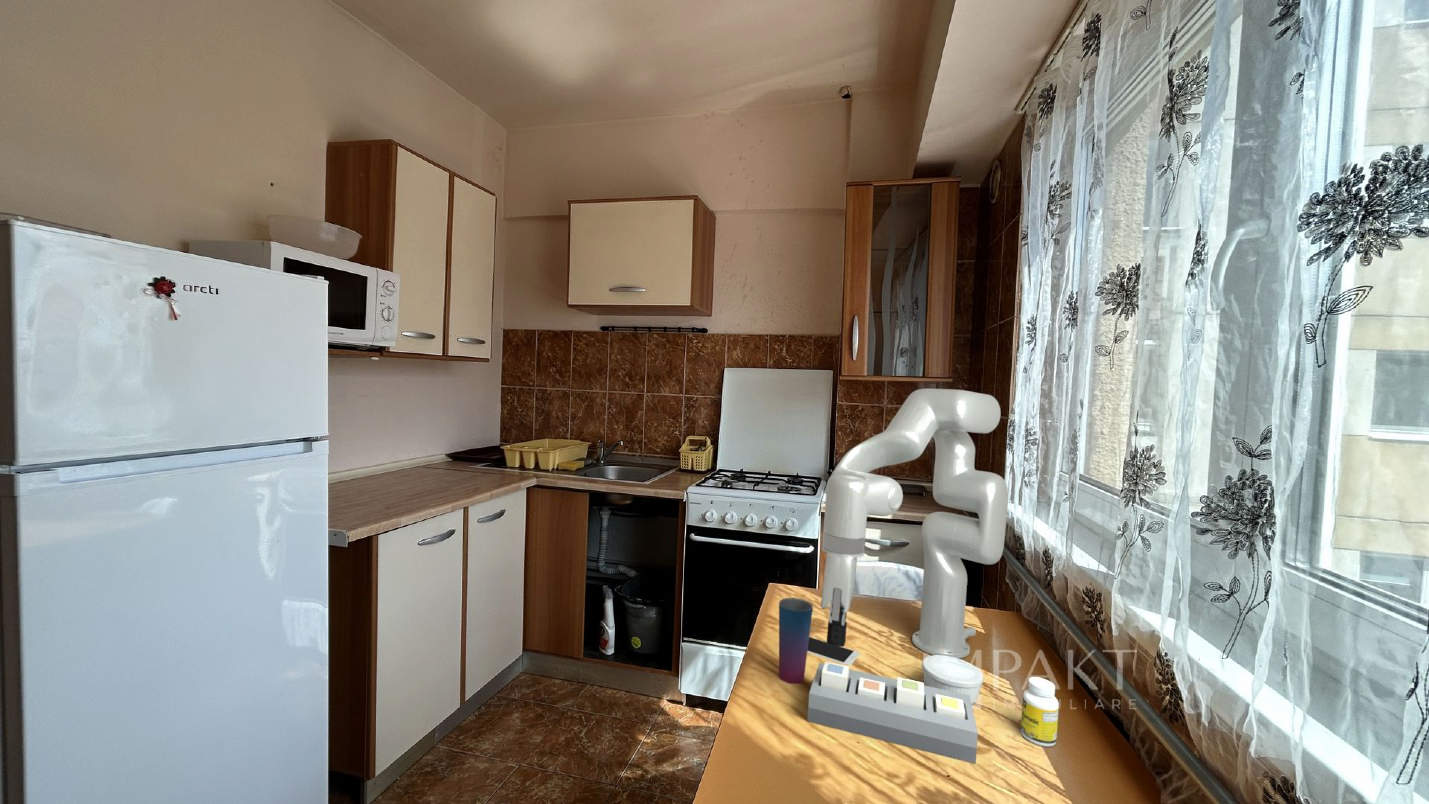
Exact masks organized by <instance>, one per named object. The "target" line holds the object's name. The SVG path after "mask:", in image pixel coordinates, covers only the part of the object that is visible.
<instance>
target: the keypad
mask: <svg viewBox="0 0 1429 804" xmlns="http://www.w3.org/2000/svg"><path fill="white" fill-rule="evenodd" d="M824 664H825V663H822V662H819V663H818V667H817V668H816V672H815V675H814V678H813V681H812V683H811V685H810V690H809V693H808V703H807V704H808V707H807V722H810V723H813V724H816V725H821V726H825V727H829V728H833V729H836V730H840V731H843V732H844V731H845V732H848V733H853V734H856V735H859V736H865V737H868V738H872V739H876V740H880V741H884V742H888V743H891V744H892V743H893V744H896V745H900V746H903V747H904V746H905V747H908V748H912V749H916V750H920V751H923V752H926V753H927V752H928V753H932V754H935V755H940V756H944V757H947V758H952V759H956V760H959V761H963V762H966V763H971V764H975V765H976V763H977V752H978V751H977V750H978V749H977V748H978V737H979V736H978V735H979V733H978V727H977V723H976V722H977V721H976V717H975V714H974V710H973V709H974V708H973V704H971V699H970V695H966V694H961V693H956V692H952V691H947V690H943V689H938V688H933V687H929V686H925V685H924V708H923V710H922V709H918V708H914V707H909V706H905V705H901V704H896V697H897V680H898V679H895V678H891V677H887V676H882V675H877V674H872V673H867V672H864V671H859V670H854V669H850V668H849V676H848V685H847V690H846V692H844V691H840V690H835V689H831V688H827V687H822V686H821V679H822V671H823V667H824ZM860 678H865V679H870V680H874V681H879V682H883V683H885V691H884V701H883V700H879V699H874V698H870V697H866V696H861V695H858V688H859V682H860ZM936 694H938V695H942V696H947V697H951V698H956V699H961V700H963V704H964V709H965V719H962V718H957V717H953V716H948V715H944V714H940V713H935V697H936Z"/></svg>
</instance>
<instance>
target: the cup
mask: <svg viewBox="0 0 1429 804" xmlns="http://www.w3.org/2000/svg"><path fill="white" fill-rule="evenodd" d="M813 609H814V606H813V604H812V602H810V601H808V600H806V599H803V598H799V597H798V598H797V597H786V598H782V599H780V600H779V602H778V677H779V679H780V680H781V681H783V682H784V683H787V684H793V685H796V684H800V683H802V682H804V681H805V673H806V665H807V658H808V657H807V656H808V653H807V650H808V642H809V637H810V633H811V625H812V617H813Z"/></svg>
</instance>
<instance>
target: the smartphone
mask: <svg viewBox="0 0 1429 804" xmlns="http://www.w3.org/2000/svg"><path fill="white" fill-rule="evenodd" d="M807 654H811V655H814V656H816V655H817V657H820V658H823V659H826V660H830V661H832V662H835V663H837V664H840V665H844V666H848V667H850V666H852V664H854V662H855V661H856V660H857V659H858V658H859V656H860V655H861V653H860V652H859V651H858V650H857V651H856V650H852V649H849V648H847V647H845V646H844V647H841V646H836V645H831V644H828V643H827V641H825V640H821V639H818V638H815V637H811V636H809V642H808V650H807ZM857 657H858V658H857ZM856 658H857V659H856Z"/></svg>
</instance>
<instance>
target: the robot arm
mask: <svg viewBox="0 0 1429 804" xmlns="http://www.w3.org/2000/svg"><path fill="white" fill-rule="evenodd" d="M1000 420H1001V406H1000V404H999V401H998V400H997V399H996V398H995V397H994V396H993V395H991V394H986V393H979V392H976V391H975V392H974V391H969V390H964V389H954V388H953V389H952V388H951V389H950V388H949V389H947V388H919V389H916V390H914V391H913V392H911V393H910V394H909V395H908V396H907V398H906V400H905V401H904V402H903V403H902V405H901V407H900V408H899V409H898V411H897V413H896V414H895V415H894V417H893V418H892V420H891V421H890V422H889V424H888V426H887V427H886V429H885V430H884V431H882V432H881V433H878V434H875V435H874V436H872V437H870V438H868V439H866V440H864V441H862V442H861V443H858V444H857V445H855V446H854V447H852V448H850V449H849V450H848V451H847V452H846V453H845V454H844V456H843V457H842V458H841V460H840V461H839V462H838V463H837V464H836V466H835V468H834V470H833V471H832V473H831V475H830V476H829V478H828V480H827V483H826V489H825V491H826V493H825V502H824V503H825V504H824V505H825V507H824V519H823V531H822V546H821V548H822V549H821V550H822V551H823V552H824V553H826V558H825V565H824V572H823V582H822V583H823V584H822V589H821V590H822V593H821V600H820V601H821V602H820V607H821V609H822V610H825V609H828V607H829V613H828V614H829V615H828V616H829V617H828V621H827V633H826V642H827V643H828V644H831V645H836V646H841V647H844V648H845V644H846V642H847V641H846V638H847V627H848V622H847V613H848V612H849V610H850V607H851V604H852V601H853V600H852V599H853V595H854V590H855V583H856V573H857V564H858V563H857V562H858V558H861V557H864V556H865V546H866V533H867V532H866V531H867V519H868V516H876V517H887V516H890V515H893V514H895V512H897V511H898V510H899V508H900V507H901V505H902V503H903V500H904V494H903V489H902V487H901V484H899V482H898V481H896V480H895V479H893V478H891V477H889V476H886V475H880V474H874V473H870V472H872V471H874V470H877V469H880V468H882V467H887V466H893V465H894V466H895V465H898V464H899V465H900V464H903V463H907V462H911V461H914V460H916V459H918V458H920V456H921V455H922V454H923V452H924V451H925V449H926V447H927V446H928V444H929V443H930V441H931V439H932V437H933V440H934V443H935V445H934V446H935V458H934V459H935V461H934V469H933V482H932V495H933V499H934V500H935V502H936V503H938V504H939V505H941V506H944V507H948V508H952V509H957V510H962V511H966V512H971V513H976V514H977V516H978V517H979V518H975V517H970V516H967V515H964V514H963V515H962V514H957V513H952V512H947V511H935V512H931V513H930V514H927V516H926V517H925V518H924V520H923V522H922V526H921V535H922V544H923V579H922V589H921V590H922V591H921V605H920V618H919V619H920V620H919V621H920V622H919V630H918V631H915V632H914V633H913V634H912V637H911V638H912V639H911V641H912V643H913V645H914V646H915V647H917V648H918V649H919V650H921V651H923V652H924V653H927V654H929V655H931V656H932V655H943V656H950V657H954V658H957V659H962V658H967V657H968V656H969V654H970V651H971V648H970V647H971V646H970V645H969V643H968V642H966V640H967V638H969V637H972V636H976V634H977V630H976V628H975V627H973V626H971V627H970V626H968V627H965V617H966V602H967V586H968V573H967V570H966V567H965V565H964V563H963V561H962V559H963V560H966V561H967V560H968V561H972V562H974V563H979V564H984V565H994V564H997V563H998V562H999V561H1000V559H1001V558H1002V555H1003V552H1004V547H1005V540H1006V539H1005V538H1006V537H1005V536H1006V528H1007V527H1006V526H1007V513H1008V504H1009V491H1008V485H1007V482H1006V481H1005V479H1004V478H1003V477H1002V476H1001V475H999V474H997V473H994V472H991V471H990V472H989V471H983V470H977V469H975V458H976V446H975V443H974V441H973V439H972V437H971V436H970V435H969V433H973V434H974V433H976V434H989V433H991V432H993V431H994V430H995V429H996V428H997V426H998V425H999V423H1000Z"/></svg>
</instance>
